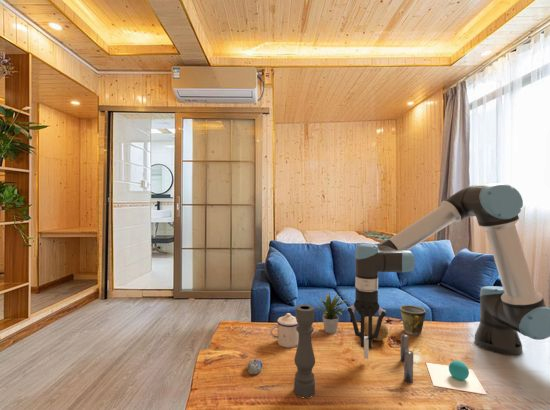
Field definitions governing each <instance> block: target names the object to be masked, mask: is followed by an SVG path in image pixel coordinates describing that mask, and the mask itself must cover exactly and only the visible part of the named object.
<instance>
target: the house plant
mask: <svg viewBox="0 0 550 410" xmlns="http://www.w3.org/2000/svg"><path fill="white" fill-rule="evenodd" d="M330 295H331V294H330V293H326V294H325V300H324V298H321V297H320V296H319V299H320V300H321V301H319V302H321V304H322V305H323V306H324V307H323V306H320V305H317V306H316V307H317V308H319V309H321V310H323V313H322V322H323V329H324V332H325V333H326V334H336V333H337V332H338V331H337V330H338V325H339V319H340V317H339V315H337V314H340V315H341V316H343V313H342V312H343V311H345V309H346V307H341V306H340V305H345V304H348V302H345V301H347V299H343V300H341V301H339V300H340V298H341V297H342V295H340V296H338V294H336V295H335V296H334V298H333V299H331V296H330ZM341 311H342V312H341Z"/></svg>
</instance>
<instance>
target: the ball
mask: <svg viewBox="0 0 550 410" xmlns="http://www.w3.org/2000/svg"><path fill="white" fill-rule="evenodd" d="M448 366H449V372H450V374H451V375H452V376H453V377H454V378H455V379H458V380H465V379H466V378H467V377H468V375H469V370H468V369H469V368H468V366H467V365H466V363H464V362H463V361H460V360H453V361H451V362H450V363H449V365H448Z"/></svg>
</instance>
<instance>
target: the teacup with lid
mask: <svg viewBox="0 0 550 410" xmlns="http://www.w3.org/2000/svg"><path fill="white" fill-rule="evenodd" d="M276 323H277V325H273V326H271V327H270V330H269V333H270V336H271V337H272V338H273V339H277V344H278V345H279V346H280V347H283V348H288V349H289V348H290V349H291V348H295V347H297V346H298V338H299V333H298V332H297V330H296V327H297V326H298V323H297V321H296V316H294V315H292V314H291V313H289V312H287V313H285V315H284V316H280V317H278V318H277V321H276ZM274 329H277V335H274V334H273V330H274Z"/></svg>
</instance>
